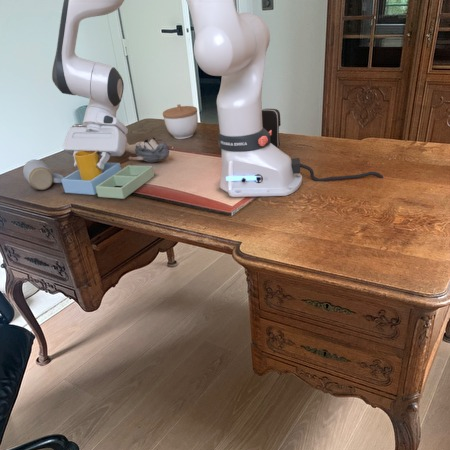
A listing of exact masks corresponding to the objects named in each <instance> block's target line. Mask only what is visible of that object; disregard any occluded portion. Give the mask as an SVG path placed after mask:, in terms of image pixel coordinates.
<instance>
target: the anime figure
mask: <svg viewBox="0 0 450 450" xmlns="http://www.w3.org/2000/svg"><path fill="white" fill-rule="evenodd" d="M127 153H131V154H133V155H136V156H132V155H129V157H128V160H129V161H132V160H134V161H143V162H146V163H152V164H153V163H156V162H157V163H158V162H160V161H164V160H166V159H167V158H169V156H170V148H169V146H168V144H167V142H166V141H163V142H161V143H159V142H158V141H157V140H156V138H155V137H152V138H150V140H149V138H147V139H145V140H144V141H138V142H136V143H133V144H130V143H129V142H128V141H127V142H126V147H125V152H124V154H123V155H122V156H124V155H126V154H127Z"/></svg>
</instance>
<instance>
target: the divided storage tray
mask: <svg viewBox="0 0 450 450" xmlns="http://www.w3.org/2000/svg"><path fill="white" fill-rule="evenodd" d="M155 176H156V175H155V171H154V167H153V166H152V165H132V164H127V165H126V166H124V167H123V168H121V170H120V171H119V172H117V173H116V174H114V175H113V176H111V177H110V178H108V179H107V180H105V181H103V182H102V183H100V184H99V185H97V186H96V191H97V194H96V195H97V197H98V198H107V199H108V198H109V199H121V200H124V199H126V198H127V197H129V196H130V195H131V194H132V193H134V192H135V191H137V190H138V189H139V188H141V187H142V186H143V185H144V184H146V183H147V182H148V181H150V180H151V179H152V178H153V177H155Z"/></svg>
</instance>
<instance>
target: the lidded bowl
mask: <svg viewBox="0 0 450 450" xmlns="http://www.w3.org/2000/svg"><path fill="white" fill-rule="evenodd" d="M162 117H163V120H164V125H165V127H166V130H167V131H168V133H169V134H170V135H171V136H172V137H173V138H174V139H177V140H181V139H189V138H191V137H193V136H194V133H195V132H196V130H197V128H198V123H199V117H198V108H197V107H196V106H193V105H181V104H180V103H179V104H176V107H170V108H167V109H165V110H164V111H163V112H162Z"/></svg>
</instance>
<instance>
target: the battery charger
mask: <svg viewBox="0 0 450 450" xmlns="http://www.w3.org/2000/svg"><path fill="white" fill-rule="evenodd" d="M281 123H282V122H281V113H280V110H278V109H276V108H262V125H263V128H264V129H265V130H267V131H268V132H269V131H270V130H272V132H271V133H272V135H271V136H270V143H271V144H273V145H274V146H275V147H277V148H278V147H279V146H280V145H281V143H280V126H281Z"/></svg>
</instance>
